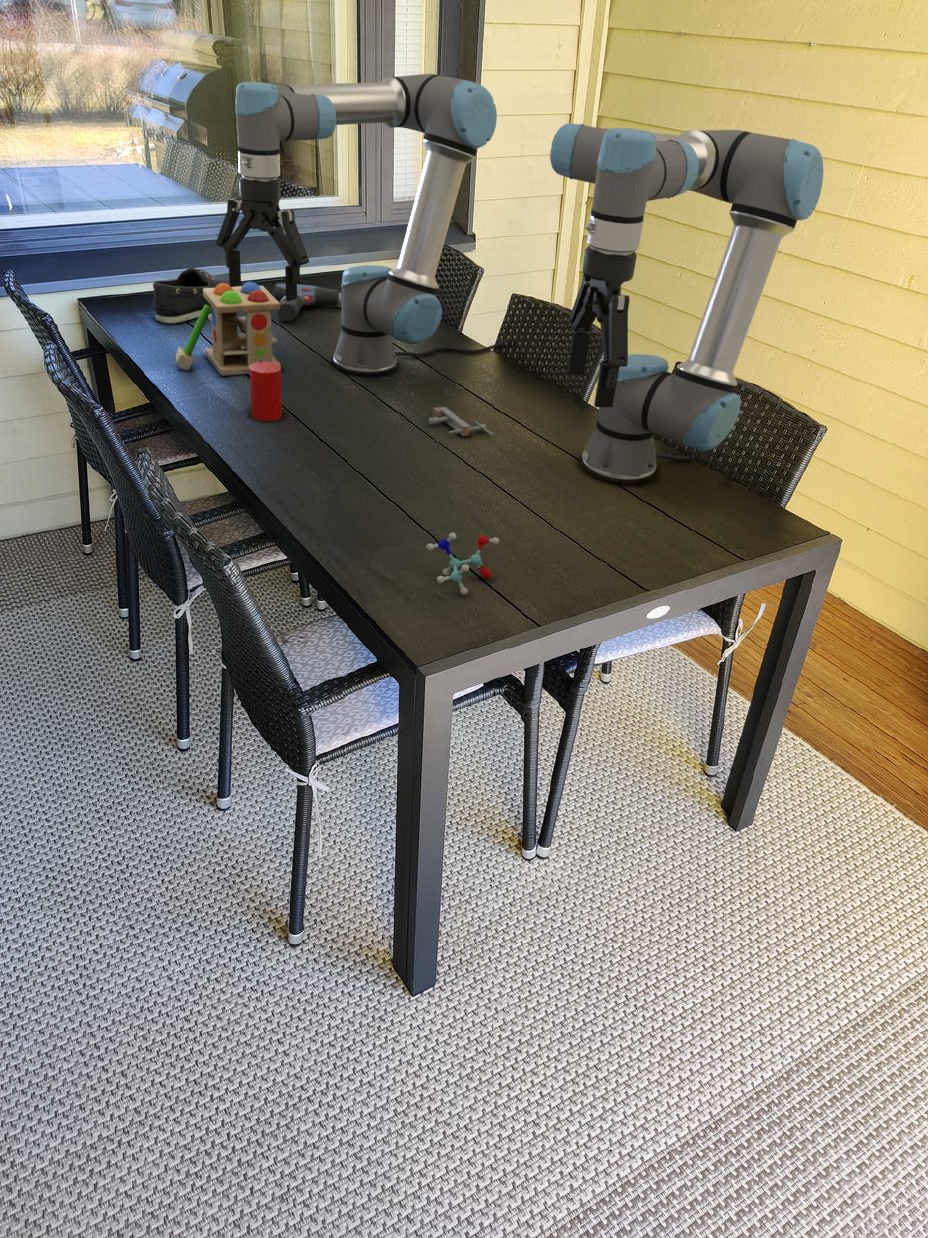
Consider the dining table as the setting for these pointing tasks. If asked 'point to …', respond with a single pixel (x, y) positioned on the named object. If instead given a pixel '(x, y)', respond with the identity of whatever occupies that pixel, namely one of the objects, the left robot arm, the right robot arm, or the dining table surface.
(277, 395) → the red cylinder
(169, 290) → the boat shoe
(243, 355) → the pounding bench toy
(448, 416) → the clamp
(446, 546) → the molecular model
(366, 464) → the dining table surface
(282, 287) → the power drill
